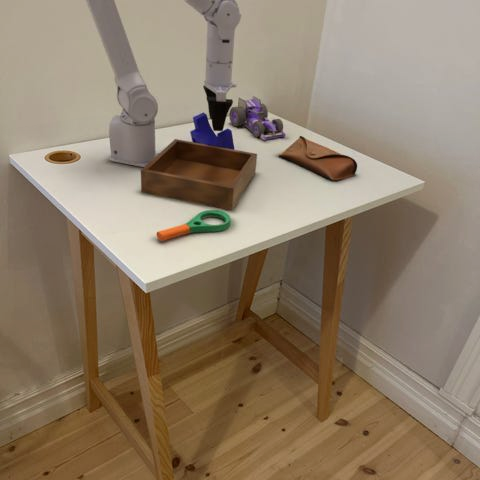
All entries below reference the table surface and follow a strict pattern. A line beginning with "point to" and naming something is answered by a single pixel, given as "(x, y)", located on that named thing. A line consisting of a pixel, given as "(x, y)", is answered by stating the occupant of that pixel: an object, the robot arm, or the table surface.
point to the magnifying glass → (196, 225)
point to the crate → (199, 174)
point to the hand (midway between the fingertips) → (216, 124)
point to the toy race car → (255, 119)
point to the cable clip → (210, 134)
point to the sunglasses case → (320, 159)
